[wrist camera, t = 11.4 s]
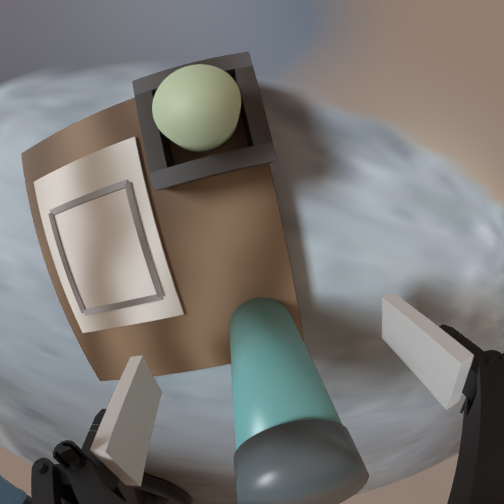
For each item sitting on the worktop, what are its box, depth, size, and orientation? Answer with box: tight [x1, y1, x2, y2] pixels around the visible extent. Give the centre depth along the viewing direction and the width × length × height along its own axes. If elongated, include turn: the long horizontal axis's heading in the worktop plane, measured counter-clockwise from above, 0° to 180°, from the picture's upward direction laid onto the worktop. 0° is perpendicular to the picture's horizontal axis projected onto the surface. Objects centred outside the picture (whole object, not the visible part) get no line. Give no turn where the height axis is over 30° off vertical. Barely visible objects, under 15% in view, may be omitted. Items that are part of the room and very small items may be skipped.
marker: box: [230, 297, 369, 504], centre depth 12 cm, size 4×4×12 cm
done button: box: [152, 64, 241, 153], centre depth 11 cm, size 4×4×3 cm
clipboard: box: [21, 52, 304, 381], centre depth 15 cm, size 16×18×4 cm
